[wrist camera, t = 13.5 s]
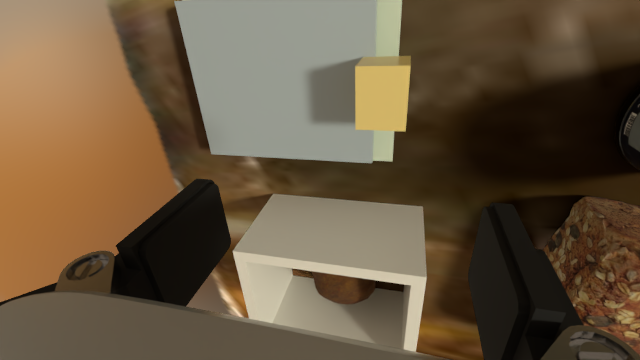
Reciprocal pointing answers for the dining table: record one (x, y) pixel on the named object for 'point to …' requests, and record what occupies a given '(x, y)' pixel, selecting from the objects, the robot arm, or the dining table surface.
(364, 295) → the potato
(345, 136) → the lid
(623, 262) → the bread
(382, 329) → the open box
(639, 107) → the supplement container
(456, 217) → the dining table surface
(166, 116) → the dining table surface
